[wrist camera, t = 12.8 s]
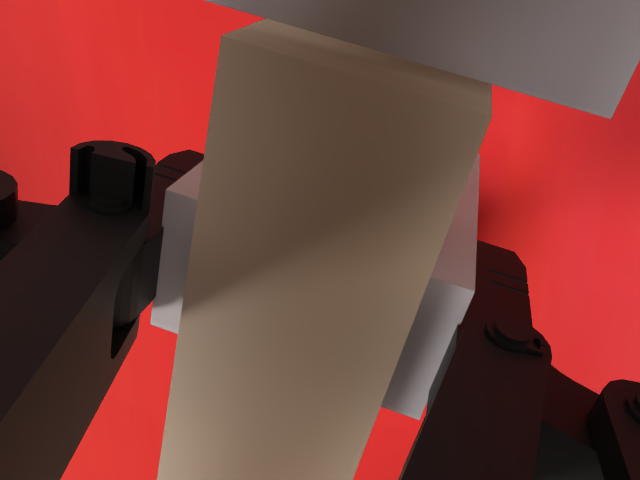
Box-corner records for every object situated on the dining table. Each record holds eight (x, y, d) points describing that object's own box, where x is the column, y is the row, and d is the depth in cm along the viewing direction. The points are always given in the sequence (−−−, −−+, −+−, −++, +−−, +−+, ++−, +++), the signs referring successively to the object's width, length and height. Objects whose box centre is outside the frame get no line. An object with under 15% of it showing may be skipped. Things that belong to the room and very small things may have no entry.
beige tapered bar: (127, 544, 18) (66, 645, 16) (285, -795, 7) (151, -1272, 4) (348, 632, 17) (324, 754, 15) (970, -698, 6) (1356, -1208, 3)
